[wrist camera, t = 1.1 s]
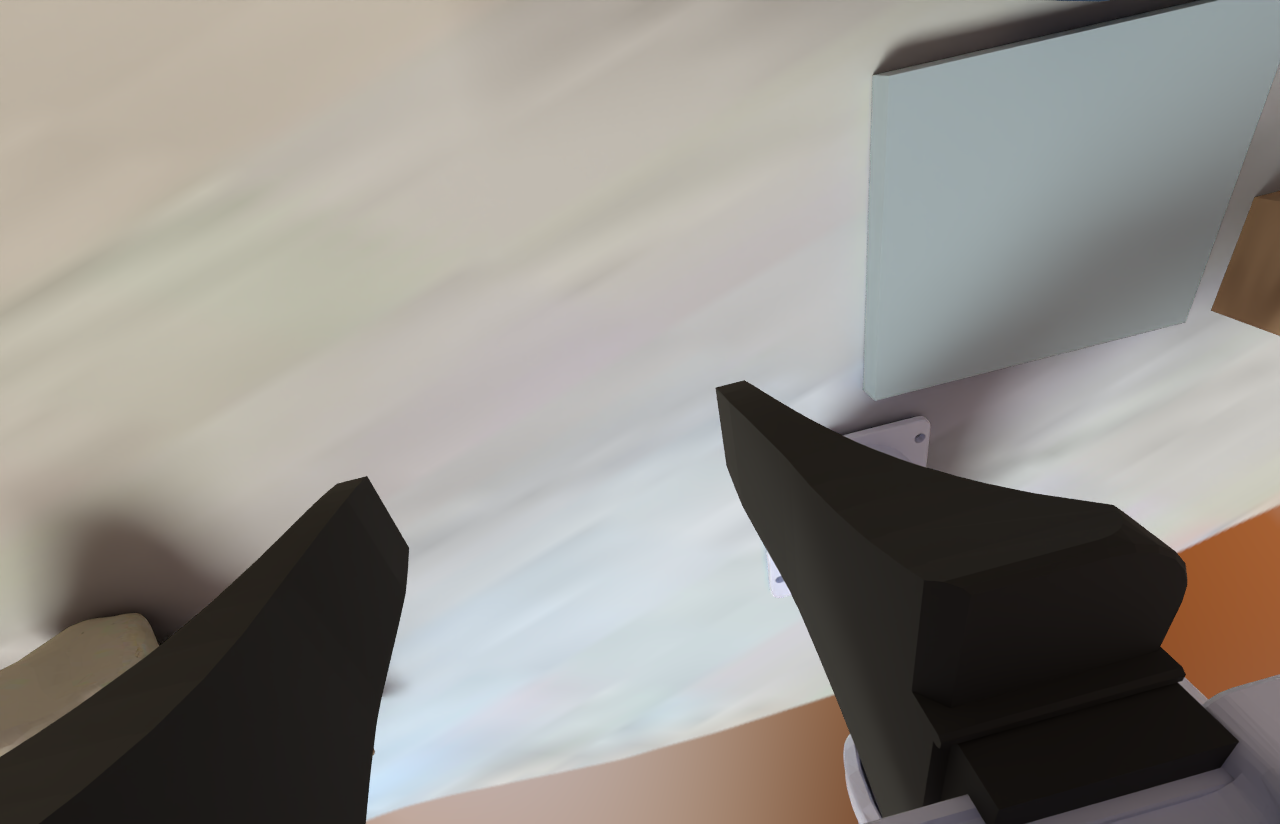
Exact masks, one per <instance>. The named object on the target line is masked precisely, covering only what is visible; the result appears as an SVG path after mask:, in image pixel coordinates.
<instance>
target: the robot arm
mask: <svg viewBox="0 0 1280 824" xmlns="http://www.w3.org/2000/svg"><path fill="white" fill-rule="evenodd" d="M716 394H717V401H718V408H719V415H720V422H721V430H722V437H723V444H724V451H725V458H726V465H727V468H728V471H729V473H730V476H731V478H732V481H733V484H734V486H735V489H736V491H737V494H738V496H739V499H740V501H741V503H742V506H743V508H744V509H745V511H746V513H747V515H748V517H749V519H750V520H751V522H752V524H753V526H754V528H755V530H756V531H757V533H758V535H759V537H760V539H761V540H762V542H763V544H764V546H765V548H766V554H767V564H768V575H769V586H770V591H771V593H772V595H773V596H774V597H775V598H782V597H786V596H790V595H792V597H793V599H794V601H795V603H796V605H797V607H798V609H799V611H800V613H801V616H802V618H803V620H804V623H805V625H806V627H807V630H808V632H809V634H810V637H811V639H812V641H813V644H814V646H815V648H816V651H817V653H818V655H819V658H820V660H821V663H822V665H823V667H824V670H825V672H826V675H827V677H828V680H829V682H830V684H831V687H832V689H833V692H834V694H835V697H836V699H837V701H838V704H839V706H840V709H841V711H842V714H843V717H844V719H845V721H846V724H847V727H848V729H849V732H850V735H849V736H848V737H847V739H846V742H845V746H844V766H845V773H846V783H847V789H848V793H849V797H850V800H851V803H852V806H853V809H854V812H855V814H856V817H857V819H858V822H859V824H1280V675H1276V676H1273V677H1269V678H1265V679H1262V680H1259V681H1255V682H1251V683H1248V684H1244V685H1241V686H1237V687H1233V688H1231V689H1228V690H1226V691H1223V692H1221V693H1219V694H1217V695H1215V696H1214V697H1212V698H1210V699H1209V700H1208V699H1207V698H1206V697H1205V696H1204V695H1203V694H1202V693H1201V692H1200V691H1199V690H1198V689H1196V688H1195V687H1194V686H1193V685H1192V684H1191V683H1190V682H1189V681H1188V680H1187V679H1186V678H1185V675H1186V674H1185V672H1184V670H1183V668H1182V666H1181V665H1179V664H1178V663H1177V662H1176V661H1175V660H1174V659H1173V658H1172V657H1171V656H1170V655H1169V654H1168V653H1167V652H1166V651H1164V650H1163V649H1162V648H1161V647H1160V646H1161V644H1162V642H1163V640H1164V638H1165V636H1166V634H1167V631H1168V629H1169V627H1170V625H1171V623H1172V621H1173V619H1174V617H1175V615H1176V613H1177V611H1178V609H1179V607H1180V605H1181V603H1182V600H1183V597H1184V594H1185V591H1186V587H1187V573H1186V565H1185V562H1184V561H1183V560H1182V559H1181V558H1180V556H1179V555H1178V554H1177V553H1176V552H1175V551H1174V550H1173V549H1171V548H1170V547H1169V546H1168V545H1166V544H1165V543H1164V542H1162V541H1161V540H1160V539H1158V538H1157V537H1156V536H1154V535H1153V534H1152V533H1150V532H1149V531H1148V530H1146V529H1145V528H1144V527H1142V526H1141V525H1140V524H1139V523H1137V522H1136V521H1135V520H1133V519H1132V518H1131V517H1129V516H1128V515H1127V514H1125V513H1124V512H1123V511H1121V510H1120V509H1118V508H1117V507H1115V506H1114V505H1109V504H1103V503H1096V502H1089V501H1082V500H1076V499H1069V498H1062V497H1055V496H1048V495H1042V494H1035V493H1030V492H1025V491H1020V490H1015V489H1010V488H1005V487H1001V486H996V485H991V484H986V483H982V482H978V481H974V480H970V479H966V478H962V477H958V476H954V475H951V474H947V473H944V472H940V471H937V470H933V469H930V468H926V465H927V456H928V447H929V438H930V429H931V424H930V422H929V421H928V420H927V419H926V418H925V417H923V416H917V417H913V418H909V419H905V420H901V421H897V422H893V423H889V424H885V425H881V426H877V427H874V428H870V429H866V430H862V431H858V432H854V433H850V434H846V435H841V434H839V433H836V432H834V431H832V430H830V429H828V428H826V427H824V426H822V425H820V424H818V423H816V422H814V421H813V420H811V419H809V418H807V417H805V416H803V415H802V414H800V413H798V412H796V411H795V410H793V409H791V408H789V407H788V406H786V405H784V404H783V403H781V402H779V401H778V400H776V399H774V398H773V397H771V396H769V395H768V394H766V393H764V392H763V391H761V390H760V389H758V388H756V387H755V386H753V385H751V384H750V383H748V382H746V381H745V380H744V381H740V382H736V383H732V384H728V385H724V386H720V387H717V388H716ZM918 434H920V435H919V436H918V437H916V436H917V435H918ZM915 437H916V438H915ZM408 557H409V547H408V545H407V544H406V542H405V540H404V538H403V537H402V535H401V533H400V532H399V530H398V528H397V526H396V525H395V523H394V521H393V520H392V518H391V516H390V514H389V513H388V511H387V509H386V508H385V506H384V504H383V503H382V501H381V499H380V497H379V496H378V494H377V492H376V491H375V489H374V487H373V485H372V484H371V482H370V480H369V479H368V477H367V476H366V477H362V478H358V479H354V480H350V481H346V482H342V483H338V484H336V485H335V486H334V487H333V488H331V489H330V490H329V491H328V492H327V493H325V494H324V495H323V496H322V497H321V498H320V499H319V500H318V501H317V502H316V503H315V504H314V505H313V506H312V507H311V508H309V509H308V510H307V511H306V512H305V513H304V514H303V515H302V516H301V517H300V518H299V519H298V520H297V521H296V522H295V523H294V524H293V525H292V526H291V527H290V528H289V529H288V530H287V531H286V532H285V533H284V534H283V535H282V536H281V537H280V538H279V539H278V540H277V541H276V542H275V543H274V544H273V545H272V546H271V547H270V548H269V549H268V550H267V551H266V552H265V553H264V554H263V555H262V556H261V557H260V558H259V559H258V560H257V561H256V562H255V563H254V564H252V565H251V566H250V567H249V568H248V569H247V570H246V571H245V572H244V573H243V574H242V575H241V576H240V577H238V578H237V579H236V580H235V581H234V582H233V583H232V584H231V585H230V586H229V587H228V588H227V589H225V590H224V591H223V592H222V593H221V594H220V595H219V596H218V597H217V598H216V599H215V600H214V601H213V602H211V603H210V604H209V605H208V606H207V607H206V608H205V609H203V610H202V611H201V612H200V613H199V614H198V615H196V616H195V617H194V618H193V619H192V620H191V621H189V622H188V623H187V624H186V625H185V626H183V627H182V628H181V629H180V630H178V631H177V632H176V633H175V634H174V635H172V636H171V637H170V638H169V639H167V640H166V641H165V642H164V643H162V644H161V645H160V646H159V647H157V648H156V649H155V650H154V651H152V652H151V653H150V654H148V655H147V656H146V657H145V658H143V659H142V660H141V661H139V662H138V663H137V664H135V665H134V666H132V667H131V668H130V669H128V670H127V671H125V672H124V673H123V674H121V675H120V676H119V677H117V678H116V679H114V680H113V681H112V682H110V683H109V684H108V685H106V686H105V687H103V688H102V689H101V690H99V691H98V692H96V693H95V694H94V695H92V696H91V697H90V698H88V699H87V700H85V701H84V702H83V703H81V704H80V705H78V706H77V707H76V708H74V709H73V710H71V711H70V712H68V713H67V714H65V715H64V716H62V717H61V718H59V719H58V720H56V721H55V722H53V723H52V724H50V725H49V726H47V727H46V728H44V729H43V730H41V731H40V732H38V733H37V734H35V735H34V736H32V737H31V738H29V739H27V740H26V741H24V742H23V743H21V744H20V745H18V746H16V747H15V748H13V749H12V750H10V751H9V752H7V753H5V754H4V755H2V756H1V757H0V824H366V814H367V803H368V793H369V782H370V772H371V764H372V756H373V748H374V740H375V732H376V724H377V718H378V713H379V708H380V703H381V698H382V693H383V689H384V685H385V681H386V676H387V672H388V668H389V664H390V660H391V655H392V651H393V647H394V643H395V638H396V634H397V630H398V626H399V621H400V617H401V612H402V608H403V603H404V598H405V594H406V584H407V574H408Z"/></svg>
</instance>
